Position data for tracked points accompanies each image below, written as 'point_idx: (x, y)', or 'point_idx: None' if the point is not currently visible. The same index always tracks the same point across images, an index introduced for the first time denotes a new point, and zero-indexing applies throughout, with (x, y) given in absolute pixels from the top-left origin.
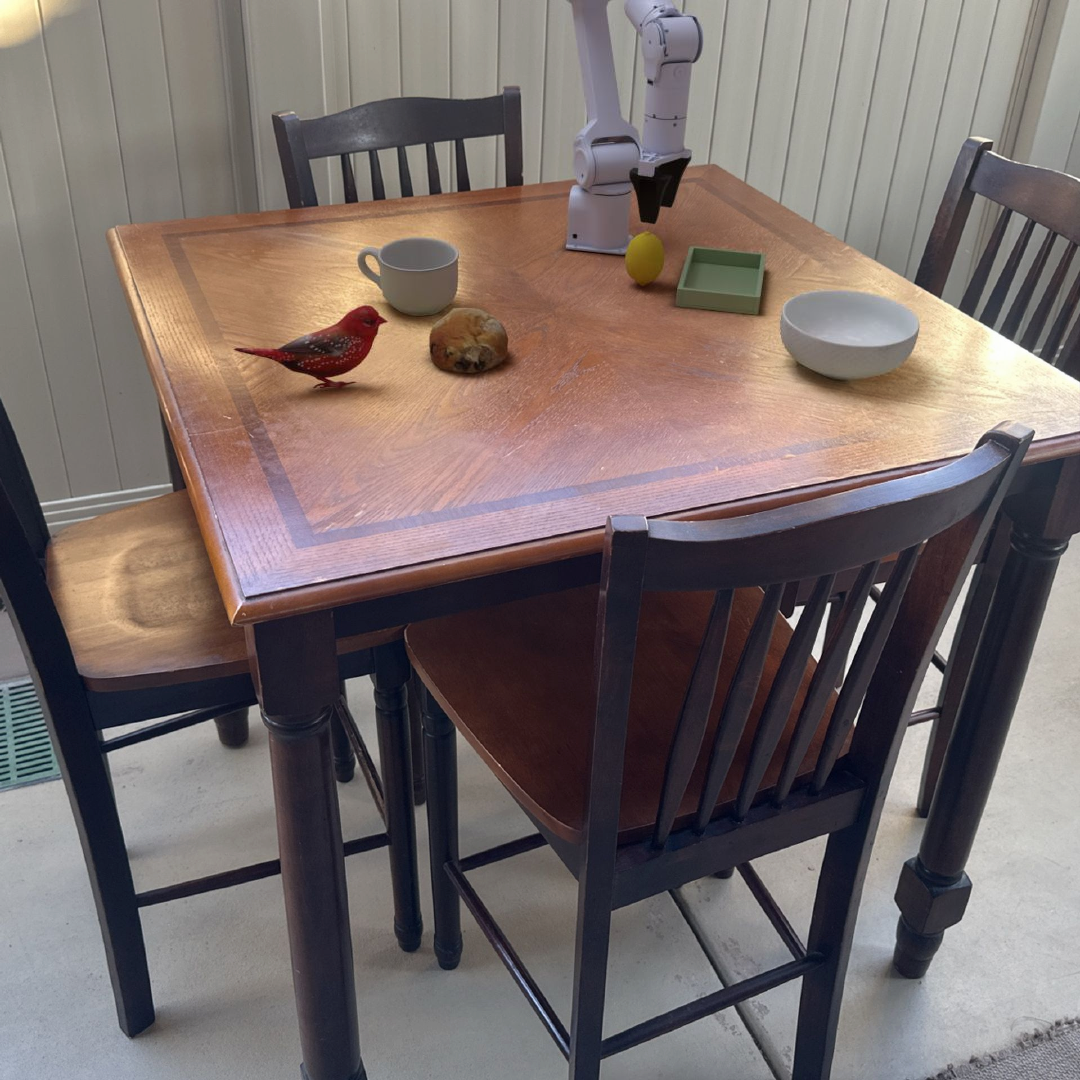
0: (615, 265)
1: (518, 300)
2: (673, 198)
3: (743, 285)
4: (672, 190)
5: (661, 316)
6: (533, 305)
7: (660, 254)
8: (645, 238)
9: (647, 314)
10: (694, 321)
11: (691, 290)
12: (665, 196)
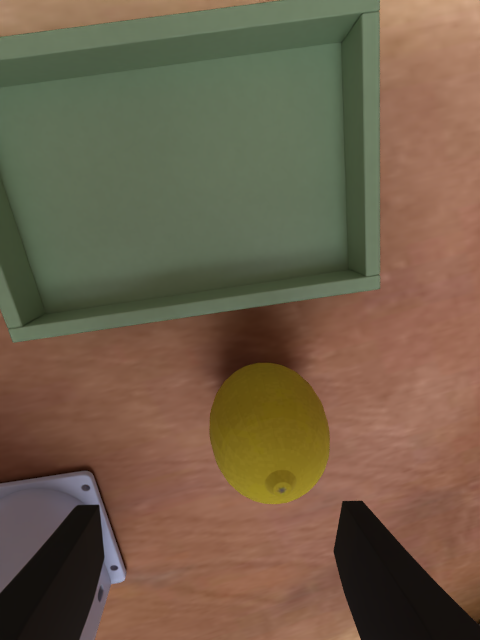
0: (160, 468)
1: (415, 551)
2: (77, 544)
3: (154, 117)
4: (51, 604)
5: (427, 294)
6: (431, 525)
7: (295, 393)
8: (308, 474)
9: (423, 326)
10: (440, 208)
11: (379, 246)
12: (80, 585)
